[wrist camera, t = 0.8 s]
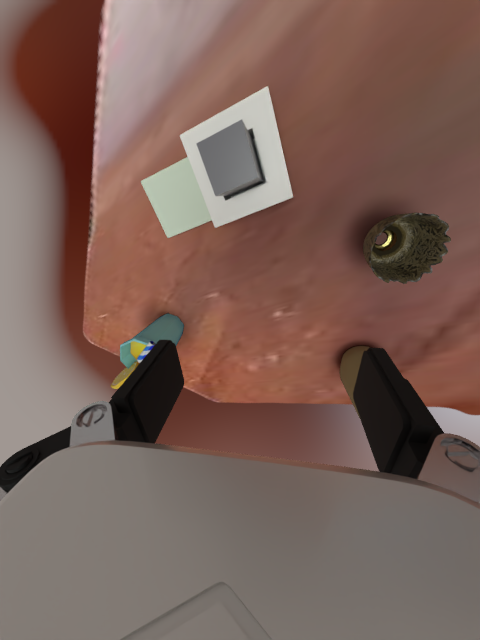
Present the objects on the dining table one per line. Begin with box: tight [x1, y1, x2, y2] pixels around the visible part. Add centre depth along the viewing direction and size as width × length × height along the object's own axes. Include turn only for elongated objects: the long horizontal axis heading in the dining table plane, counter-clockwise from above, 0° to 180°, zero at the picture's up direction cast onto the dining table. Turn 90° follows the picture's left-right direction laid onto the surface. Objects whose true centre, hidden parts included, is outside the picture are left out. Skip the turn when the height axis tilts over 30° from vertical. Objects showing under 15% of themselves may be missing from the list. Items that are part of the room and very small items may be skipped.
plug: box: [197, 119, 265, 196], centre depth 25 cm, size 4×4×10 cm
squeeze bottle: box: [340, 346, 370, 418], centre depth 33 cm, size 8×8×18 cm
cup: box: [111, 313, 184, 389], centre depth 37 cm, size 14×8×15 cm, turn 142°
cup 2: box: [363, 213, 451, 284], centre depth 27 cm, size 8×7×8 cm
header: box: [180, 86, 293, 228], centre depth 27 cm, size 10×10×5 cm
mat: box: [141, 157, 212, 238], centre depth 32 cm, size 8×8×1 cm
